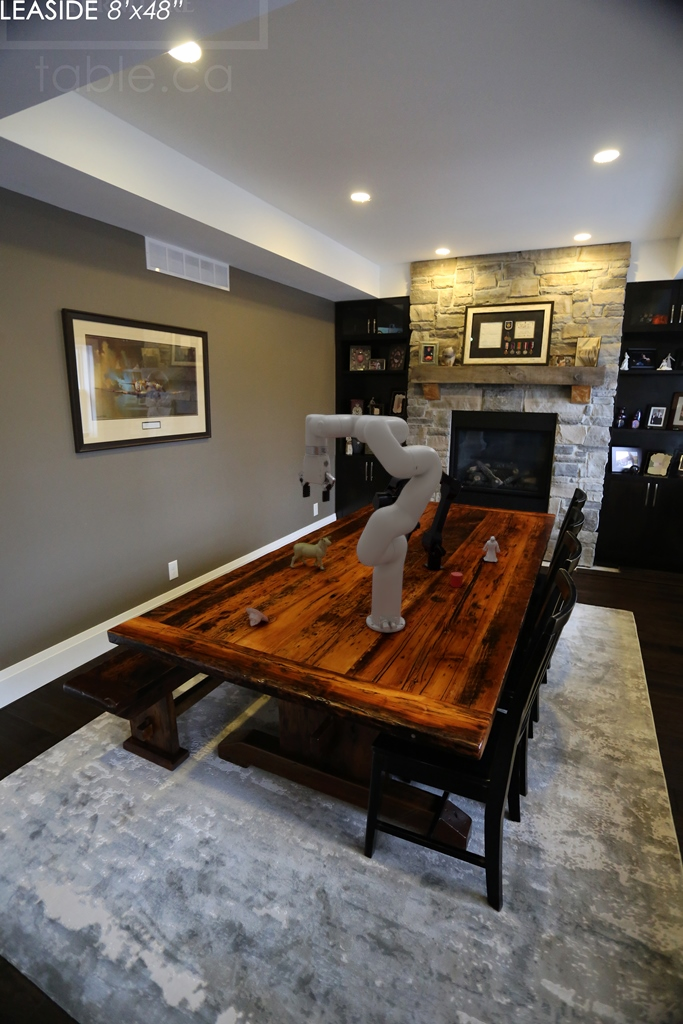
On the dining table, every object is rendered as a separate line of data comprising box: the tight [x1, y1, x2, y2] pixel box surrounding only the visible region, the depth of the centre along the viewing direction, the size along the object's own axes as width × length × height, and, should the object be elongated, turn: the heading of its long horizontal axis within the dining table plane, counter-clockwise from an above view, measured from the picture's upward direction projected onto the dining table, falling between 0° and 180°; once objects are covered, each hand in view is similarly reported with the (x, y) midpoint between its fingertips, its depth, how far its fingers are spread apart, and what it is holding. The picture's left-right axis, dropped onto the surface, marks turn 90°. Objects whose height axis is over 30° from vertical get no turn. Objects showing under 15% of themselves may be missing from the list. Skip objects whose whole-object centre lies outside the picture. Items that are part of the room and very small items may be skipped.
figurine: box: [482, 535, 501, 563], centre depth 223 cm, size 8×8×12 cm
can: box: [450, 571, 463, 588], centre depth 195 cm, size 4×4×5 cm
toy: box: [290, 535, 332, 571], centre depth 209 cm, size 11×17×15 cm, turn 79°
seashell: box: [245, 607, 269, 627], centre depth 160 cm, size 8×5×8 cm
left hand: (316, 499), depth 176 cm, fingers open, 9 cm apart
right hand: (395, 545), depth 205 cm, fingers open, 9 cm apart
